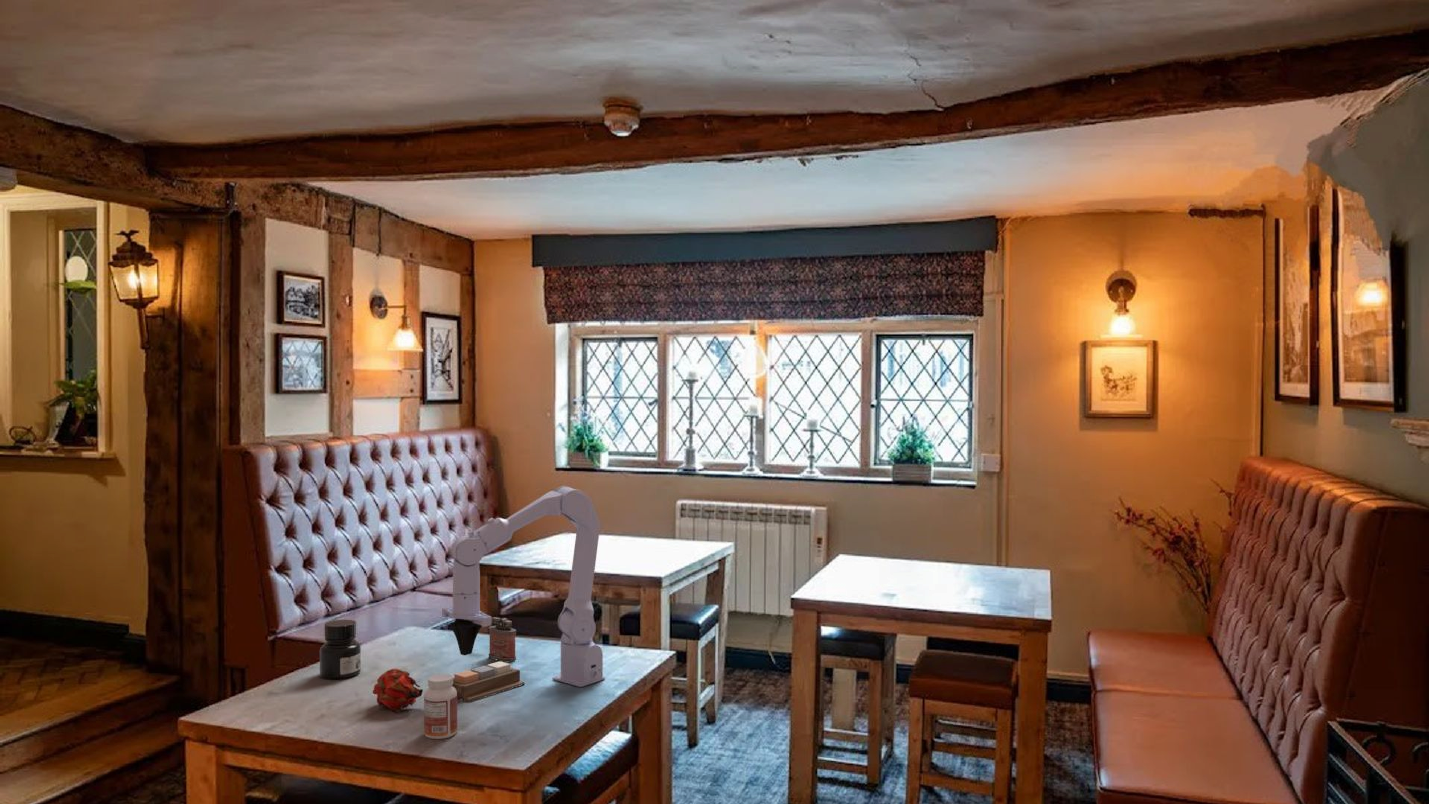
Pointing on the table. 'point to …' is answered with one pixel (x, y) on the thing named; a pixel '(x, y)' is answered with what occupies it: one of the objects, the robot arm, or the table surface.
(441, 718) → the pill bottle
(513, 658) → the lighter
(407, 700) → the dragon fruit
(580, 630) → the robot arm
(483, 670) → the key slate
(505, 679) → the keypad board
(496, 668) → the key cream
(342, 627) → the ink bottle
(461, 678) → the key terracotta
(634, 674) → the table surface
